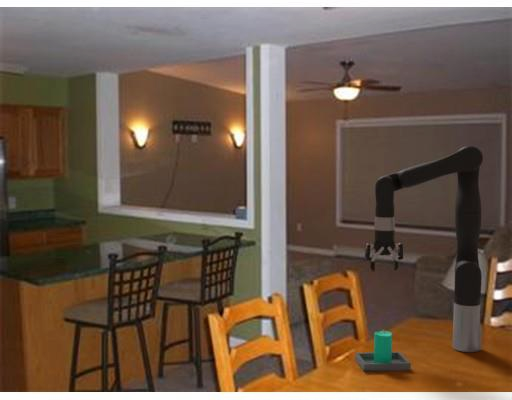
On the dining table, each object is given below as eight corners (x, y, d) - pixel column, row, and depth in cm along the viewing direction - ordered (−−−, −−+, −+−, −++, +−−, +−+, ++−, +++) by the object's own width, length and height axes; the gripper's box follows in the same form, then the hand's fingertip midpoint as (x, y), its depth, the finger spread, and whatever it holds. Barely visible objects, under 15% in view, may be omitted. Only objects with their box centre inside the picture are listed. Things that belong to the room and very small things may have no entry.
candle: (390, 360, 217) (391, 326, 216) (392, 366, 212) (393, 331, 211) (373, 359, 218) (373, 326, 217) (374, 365, 212) (375, 331, 211)
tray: (399, 358, 221) (399, 351, 221) (410, 370, 209) (410, 363, 209) (355, 359, 220) (355, 352, 220) (363, 371, 208) (363, 364, 208)
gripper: (399, 227, 241) (398, 268, 243) (363, 227, 240) (362, 269, 241) (406, 229, 234) (405, 272, 235) (369, 230, 232) (368, 273, 234)
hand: (383, 270), depth 238 cm, fingers open, 8 cm apart
